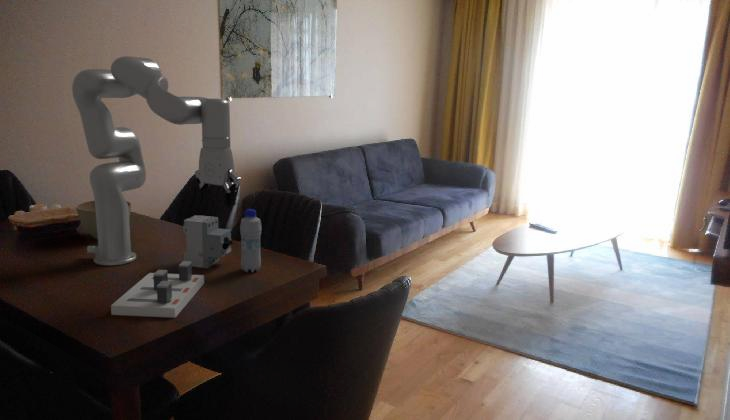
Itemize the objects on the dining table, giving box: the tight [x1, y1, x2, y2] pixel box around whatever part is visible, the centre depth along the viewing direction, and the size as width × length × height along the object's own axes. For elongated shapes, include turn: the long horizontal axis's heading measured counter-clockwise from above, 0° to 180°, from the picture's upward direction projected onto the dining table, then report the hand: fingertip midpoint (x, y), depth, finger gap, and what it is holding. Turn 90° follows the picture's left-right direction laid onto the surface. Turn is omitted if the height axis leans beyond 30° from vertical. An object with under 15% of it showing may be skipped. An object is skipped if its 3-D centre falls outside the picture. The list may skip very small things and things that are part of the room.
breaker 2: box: [178, 260, 193, 281], centre depth 152 cm, size 2×4×4 cm, turn 0°
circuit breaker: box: [182, 214, 234, 269], centre depth 172 cm, size 8×14×15 cm, turn 78°
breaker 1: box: [157, 281, 172, 303], centre depth 136 cm, size 2×4×4 cm, turn 0°
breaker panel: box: [110, 272, 205, 318], centre depth 145 cm, size 16×24×3 cm, turn 0°
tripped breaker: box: [153, 269, 169, 290], centre depth 144 cm, size 2×4×4 cm, turn 0°
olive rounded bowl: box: [75, 200, 132, 240], centre depth 196 cm, size 18×18×12 cm
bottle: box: [239, 208, 263, 273], centre depth 167 cm, size 7×7×20 cm
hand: (218, 203), depth 152 cm, fingers open, 9 cm apart
